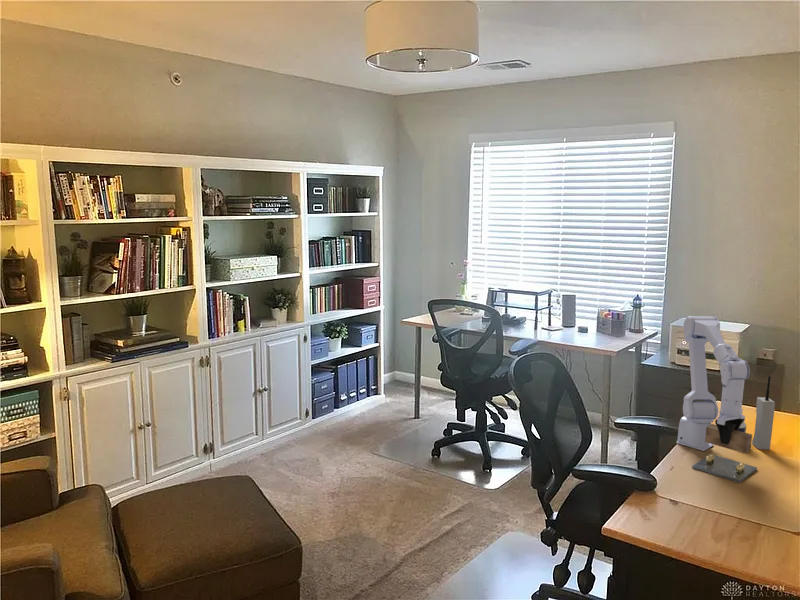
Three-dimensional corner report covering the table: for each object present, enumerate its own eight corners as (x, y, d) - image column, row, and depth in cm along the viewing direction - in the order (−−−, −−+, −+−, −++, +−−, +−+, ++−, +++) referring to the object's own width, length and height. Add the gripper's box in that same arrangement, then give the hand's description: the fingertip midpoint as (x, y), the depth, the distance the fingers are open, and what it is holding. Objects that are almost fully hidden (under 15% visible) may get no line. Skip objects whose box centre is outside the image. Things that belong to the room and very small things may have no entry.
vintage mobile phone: (763, 444, 223) (771, 373, 219) (769, 450, 218) (778, 378, 214) (751, 443, 223) (759, 373, 219) (758, 449, 218) (766, 377, 214)
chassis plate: (692, 467, 203) (692, 459, 202) (710, 456, 212) (711, 447, 212) (739, 483, 193) (740, 474, 192) (756, 469, 202) (757, 461, 202)
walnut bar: (704, 442, 204) (706, 426, 203) (710, 438, 207) (711, 423, 206) (745, 453, 196) (747, 437, 195) (750, 450, 198) (752, 434, 197)
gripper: (736, 407, 191) (731, 451, 193) (754, 397, 201) (750, 439, 203) (711, 401, 196) (707, 444, 198) (730, 392, 206) (726, 433, 208)
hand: (727, 441), depth 201 cm, fingers closed on walnut bar, 4 cm apart
